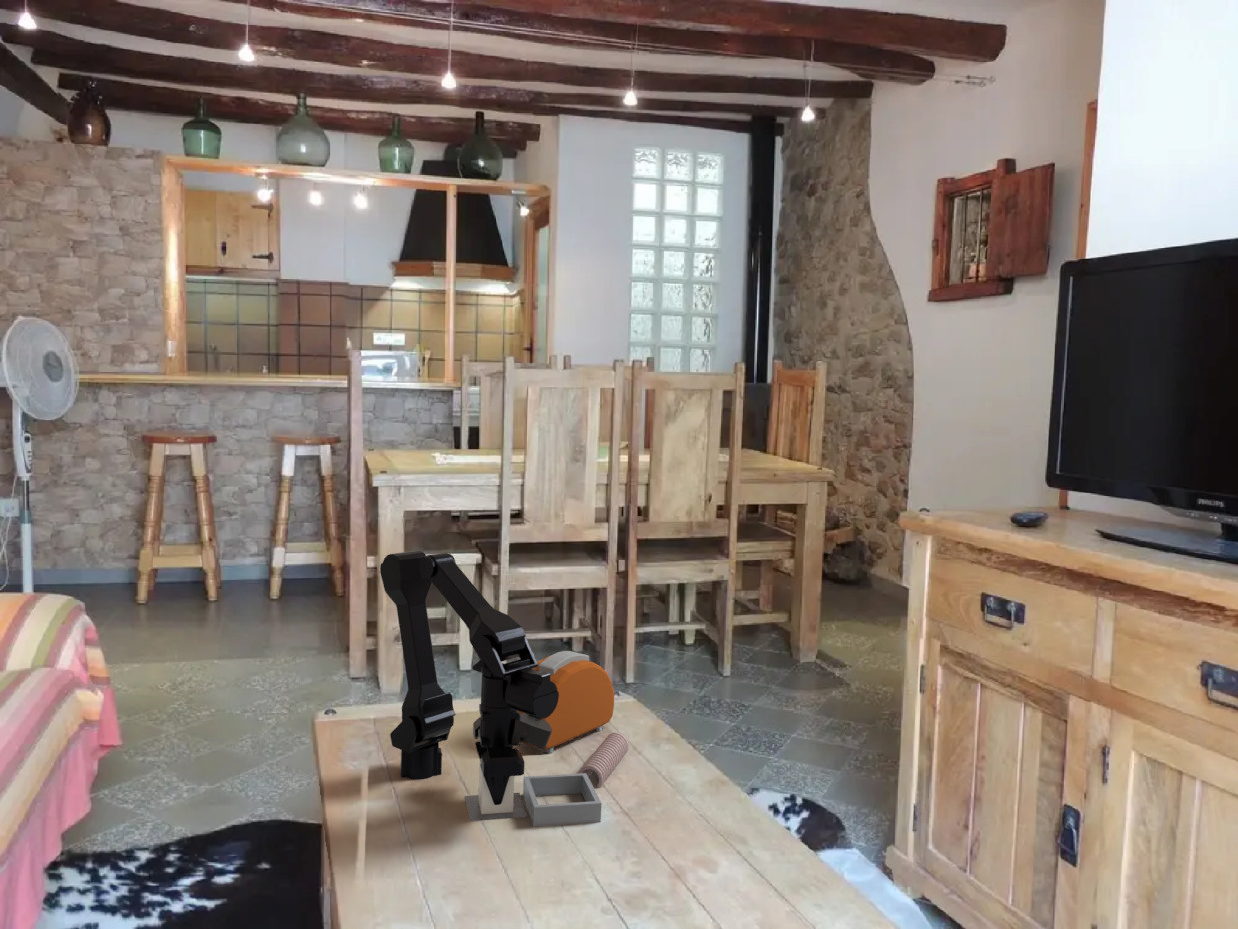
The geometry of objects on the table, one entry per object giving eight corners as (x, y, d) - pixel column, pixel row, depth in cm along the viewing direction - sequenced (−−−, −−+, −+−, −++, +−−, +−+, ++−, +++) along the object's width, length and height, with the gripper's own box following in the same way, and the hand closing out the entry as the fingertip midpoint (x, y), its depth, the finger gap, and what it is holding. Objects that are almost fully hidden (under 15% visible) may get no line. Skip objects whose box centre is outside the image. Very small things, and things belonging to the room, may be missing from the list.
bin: (533, 832, 146) (534, 807, 146) (522, 800, 157) (523, 776, 157) (600, 828, 149) (601, 803, 148) (585, 796, 160) (586, 773, 159)
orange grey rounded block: (580, 716, 198) (583, 638, 197) (614, 726, 193) (618, 646, 192) (503, 748, 179) (506, 661, 178) (540, 760, 174) (543, 671, 173)
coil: (604, 770, 160) (631, 734, 178) (578, 763, 162) (608, 728, 179) (600, 796, 161) (628, 758, 178) (574, 789, 162) (604, 752, 180)
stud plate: (469, 827, 147) (470, 796, 146) (464, 802, 156) (465, 773, 155) (527, 823, 149) (528, 793, 149) (519, 798, 158) (520, 770, 157)
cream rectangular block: (481, 814, 149) (482, 771, 149) (478, 800, 154) (479, 758, 153) (512, 812, 150) (514, 769, 150) (508, 798, 155) (510, 757, 155)
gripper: (559, 720, 144) (555, 820, 145) (539, 682, 162) (536, 771, 163) (485, 724, 141) (482, 825, 142) (474, 684, 159) (471, 774, 160)
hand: (495, 797), depth 152 cm, fingers open, 5 cm apart
